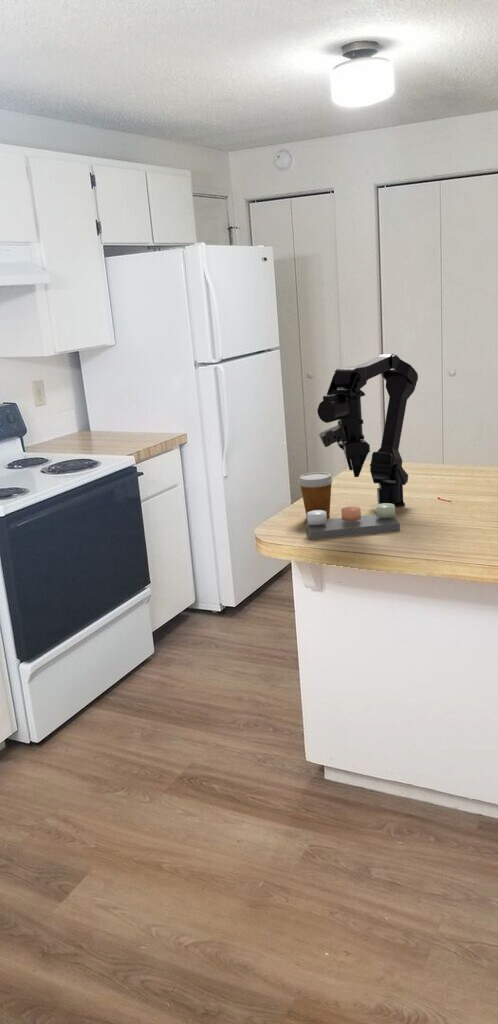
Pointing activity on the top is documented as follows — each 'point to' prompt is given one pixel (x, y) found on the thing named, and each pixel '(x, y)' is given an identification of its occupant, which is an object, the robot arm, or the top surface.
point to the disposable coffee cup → (316, 491)
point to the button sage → (385, 510)
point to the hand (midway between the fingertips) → (353, 473)
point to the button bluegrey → (316, 517)
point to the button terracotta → (351, 513)
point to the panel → (352, 527)
